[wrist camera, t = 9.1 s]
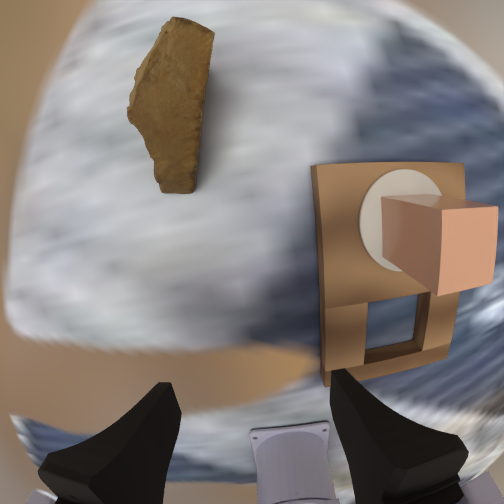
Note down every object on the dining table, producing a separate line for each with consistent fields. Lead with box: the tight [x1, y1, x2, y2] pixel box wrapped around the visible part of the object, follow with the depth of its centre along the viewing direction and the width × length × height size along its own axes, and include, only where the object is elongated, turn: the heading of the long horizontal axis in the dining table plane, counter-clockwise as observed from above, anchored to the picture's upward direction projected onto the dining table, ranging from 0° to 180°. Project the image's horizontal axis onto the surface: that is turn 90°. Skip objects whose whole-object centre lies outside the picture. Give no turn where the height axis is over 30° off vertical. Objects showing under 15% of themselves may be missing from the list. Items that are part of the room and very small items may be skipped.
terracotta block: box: [381, 194, 498, 296], centre depth 14 cm, size 4×4×7 cm
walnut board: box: [311, 162, 465, 387], centre depth 20 cm, size 17×12×2 cm
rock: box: [127, 17, 215, 194], centre depth 16 cm, size 11×9×10 cm
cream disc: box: [358, 169, 442, 272], centre depth 18 cm, size 7×7×1 cm
